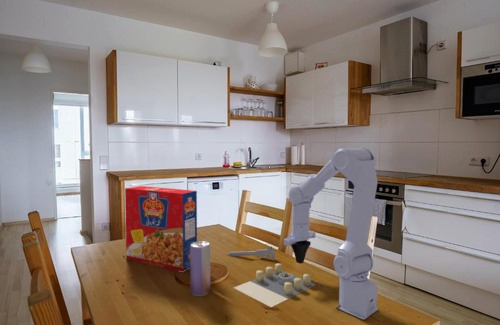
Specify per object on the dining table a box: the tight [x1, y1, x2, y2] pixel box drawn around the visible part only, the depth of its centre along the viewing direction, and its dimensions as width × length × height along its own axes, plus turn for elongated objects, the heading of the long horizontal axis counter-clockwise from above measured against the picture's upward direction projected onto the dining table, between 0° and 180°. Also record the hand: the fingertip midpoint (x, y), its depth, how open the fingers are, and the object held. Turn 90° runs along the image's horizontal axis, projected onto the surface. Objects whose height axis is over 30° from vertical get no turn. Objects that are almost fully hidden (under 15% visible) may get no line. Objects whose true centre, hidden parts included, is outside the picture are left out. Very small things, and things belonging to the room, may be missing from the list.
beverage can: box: [189, 240, 211, 297], centre depth 97 cm, size 6×6×15 cm
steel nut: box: [278, 272, 294, 285], centre depth 103 cm, size 5×4×2 cm
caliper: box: [226, 246, 276, 261], centre depth 127 cm, size 20×1×6 cm, turn 66°
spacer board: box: [233, 262, 317, 308], centre depth 100 cm, size 16×21×4 cm
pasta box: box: [124, 185, 198, 272], centre depth 122 cm, size 28×8×28 cm, turn 63°
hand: (299, 262), depth 108 cm, fingers closed
